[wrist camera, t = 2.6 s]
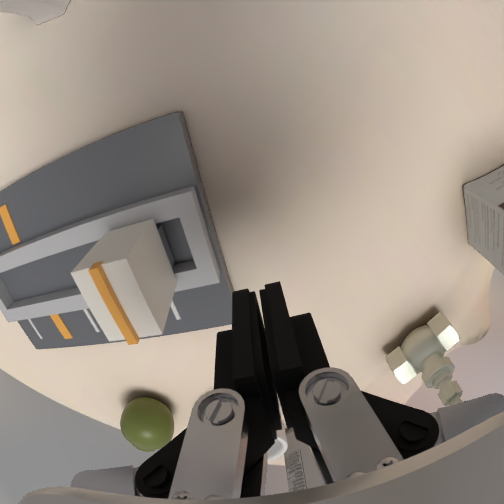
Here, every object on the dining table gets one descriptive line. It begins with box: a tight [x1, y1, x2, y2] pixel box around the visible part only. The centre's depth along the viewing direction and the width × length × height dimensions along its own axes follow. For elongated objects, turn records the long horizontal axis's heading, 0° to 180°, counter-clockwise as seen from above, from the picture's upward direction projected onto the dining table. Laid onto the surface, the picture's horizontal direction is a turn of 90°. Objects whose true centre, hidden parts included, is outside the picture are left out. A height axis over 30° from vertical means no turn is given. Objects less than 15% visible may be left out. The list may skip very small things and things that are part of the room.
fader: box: [71, 219, 177, 345], centre depth 14 cm, size 4×3×6 cm
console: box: [0, 112, 234, 349], centre depth 18 cm, size 14×20×3 cm
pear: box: [120, 397, 174, 452], centre depth 26 cm, size 6×5×10 cm
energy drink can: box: [284, 428, 325, 492], centre depth 24 cm, size 6×6×15 cm
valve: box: [386, 312, 465, 406], centre depth 19 cm, size 7×7×12 cm
